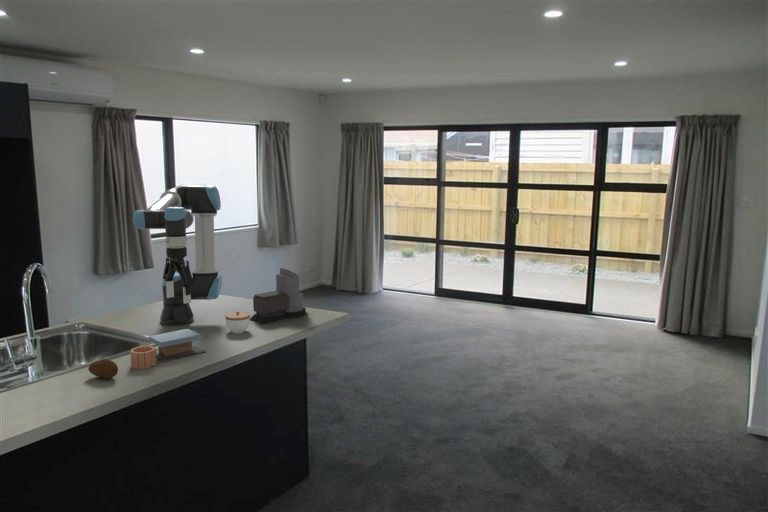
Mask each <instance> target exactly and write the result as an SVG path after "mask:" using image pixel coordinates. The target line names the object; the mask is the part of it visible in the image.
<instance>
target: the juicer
mask: <svg viewBox="0 0 768 512" xmlns="http://www.w3.org/2000/svg"><path fill="white" fill-rule="evenodd" d="M275 282H276V284H275V287H276V289H275V290H273V291H268V292H262V293H256V294H254V295H253V296H252V298H253V299H252V300H253V301H252V307H253V308H252V309H253V312H255V313H254V314H253V315H252V316H250V322H253V323H257V324H259V325H263V326H264V325H269V324H271V323H277V322H281V321H285V320H290V319H299V317H300V318H302V317H305V316H308V315H309V313H308V312H307V311H306V310H307V308H306V307H305V306H304V294H303V293H302V292H300V276H299V274H297V273H296V272H294V271H291V270H290V269H287V268H284V267H279V273H276V274H275Z"/></svg>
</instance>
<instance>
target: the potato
mask: <svg viewBox="0 0 768 512" xmlns="http://www.w3.org/2000/svg"><path fill="white" fill-rule="evenodd" d="M88 371H89V373H90V374H92V375H94V376H95V377H97V378H101V379H105V380H109V379H112V378H114V377H115V376H116V375H117V374H118V372H119V367H118V365H117V364H116V362H114V361H113V360H111V359H107V358H102V359H99V360H96V361H94V362H92V363H91V364H89V366H88Z"/></svg>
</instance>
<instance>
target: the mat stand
mask: <svg viewBox="0 0 768 512" xmlns="http://www.w3.org/2000/svg"><path fill="white" fill-rule="evenodd" d="M204 353H207V350H205V349H203V348H201V347H200V346H197V345H195V344H193V341H190V342H186V343H181V344H176V345H172V346H167V347H162V348H161V347H159V346H158V348H156V361H157V360H158V362H161V363H166V362H170V361H174V359H175V360H179V359H182V358H183V357H184V358H187V357H191V356H195V355H201V354H204ZM184 358H183V359H184Z"/></svg>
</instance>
